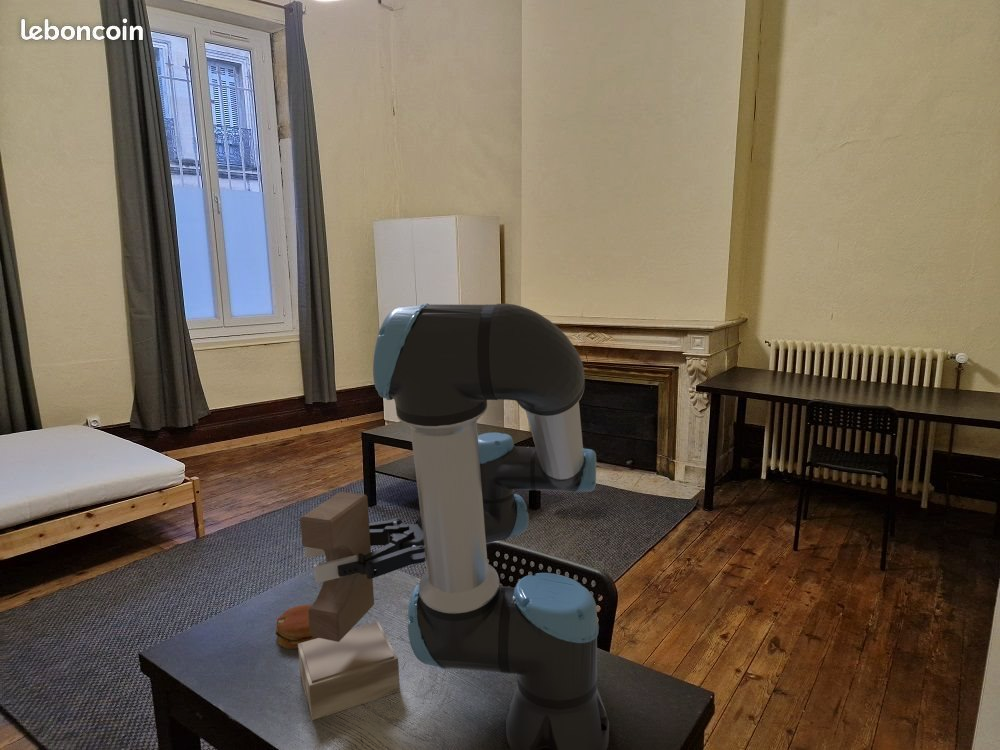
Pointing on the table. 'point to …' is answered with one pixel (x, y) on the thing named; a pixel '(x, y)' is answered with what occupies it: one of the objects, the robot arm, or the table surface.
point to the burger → (293, 627)
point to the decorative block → (340, 536)
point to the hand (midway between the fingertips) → (310, 561)
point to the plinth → (348, 670)
